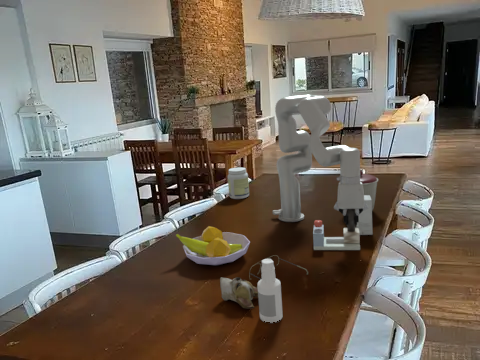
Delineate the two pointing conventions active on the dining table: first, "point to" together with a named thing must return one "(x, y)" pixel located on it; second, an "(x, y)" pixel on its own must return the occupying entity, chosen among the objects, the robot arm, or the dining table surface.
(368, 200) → the skincare box
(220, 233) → the fruit bowl
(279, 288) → the white bottle
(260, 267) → the eyeglasses
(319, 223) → the button
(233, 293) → the ceramic sculpture
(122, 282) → the dining table surface
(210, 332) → the dining table surface
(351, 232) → the carriage
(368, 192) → the canister
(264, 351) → the dining table surface
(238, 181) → the supplement tub
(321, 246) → the rail board
